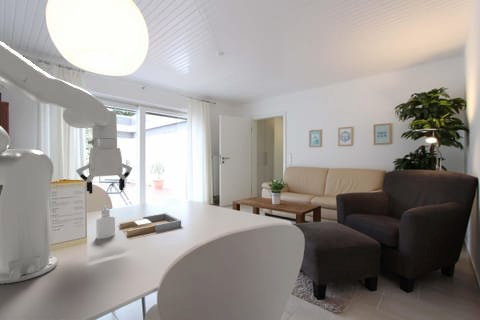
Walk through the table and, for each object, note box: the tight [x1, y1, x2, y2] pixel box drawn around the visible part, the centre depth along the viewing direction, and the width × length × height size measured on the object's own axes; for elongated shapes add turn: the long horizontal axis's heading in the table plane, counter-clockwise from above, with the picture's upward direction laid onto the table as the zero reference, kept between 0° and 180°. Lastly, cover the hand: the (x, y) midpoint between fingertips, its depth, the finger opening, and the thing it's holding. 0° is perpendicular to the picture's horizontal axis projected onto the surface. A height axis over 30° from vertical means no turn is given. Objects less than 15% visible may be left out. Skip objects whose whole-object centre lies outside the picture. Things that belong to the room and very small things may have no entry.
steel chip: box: [133, 219, 152, 228], centre depth 91 cm, size 6×5×3 cm
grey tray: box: [142, 212, 182, 232], centre depth 95 cm, size 16×10×2 cm, turn 40°
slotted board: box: [117, 218, 185, 240], centre depth 92 cm, size 20×20×3 cm
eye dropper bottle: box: [95, 205, 116, 240], centre depth 81 cm, size 4×6×12 cm
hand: (106, 191), depth 82 cm, fingers open, 9 cm apart
